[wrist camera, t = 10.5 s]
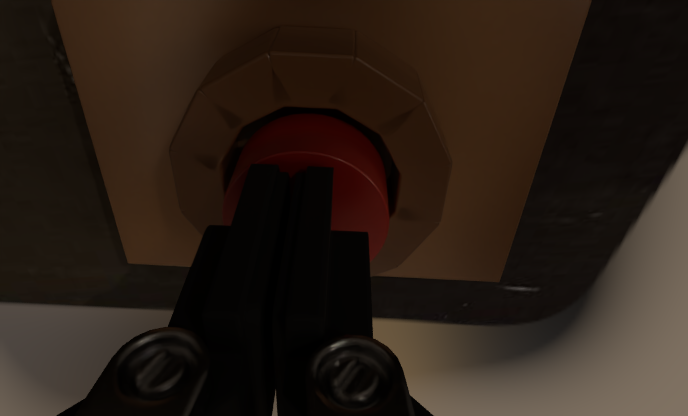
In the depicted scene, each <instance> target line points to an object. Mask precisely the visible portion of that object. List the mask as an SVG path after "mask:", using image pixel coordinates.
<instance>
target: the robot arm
mask: <svg viewBox="0 0 688 416" xmlns="http://www.w3.org/2000/svg"><path fill="white" fill-rule="evenodd" d="M333 173H334V167H315V166H307V171H306V173H296V178H295V184H294V189H293V195H292V201H291V207H290V189H289V173H288V172H280V170H279V165H272V164H251V165H250V167H249V170H248V174H247V177H246V180H245V183H244V186H243V189H242V192H241V195H240V198H239V201H238V204H237V208H236V211H235V214H234V217H233V220H232V223H231V226H225V225H209V226H208V227H207V228H206V230H205V232H204V234H203V237H202V239H201V242H200V245H199V247H198V250H197V252H196V255H195V258H194V260H193V263H192V265H191V268H190V270H189V273H188V276H187V278H186V281H185V283H184V286H183V289H182V291H181V294H180V296H179V299H178V301H177V304H176V307H175V309H174V312H173V314H172V317H171V320H170V322H169V325H168V327H163V328H158V329H153V330H149V331H147V332H145V333H142V334H140V335H138V336H136V337H134V338H133V339H131V340H130V341H129V342H127V343H126V344H125V345H123V346H122V347H121V348H120V349H119V350H118V351H117V353H116V354H115V355H114V356H113V357H112V358H111V360H110V362H109V363H108V365H107V366H106V368H105V369H104V371H103V372H102V374H101V375H100V377H99V378H98V380H97V381H96V383H95V384H94V386H93V388H92V389H91V391H90V392H89V393H88V395H87V397H86V398H85V399H83V400H82V401H80V402H78V403H77V404H75V405H73V406H72V407H70V408H68V409H67V410H65V411H63V412H62V413H60V414H58V415H57V416H272V411H273V403H274V397H275V390H276V398H277V413H278V416H433V415H432V414H431V413H430V412H429V411H428V410H426V409H425V408H424V407H423V406H422V405H420V404H419V403H418V402H417V401H416V400H415V399H414V398H413V397H411V396H410V394H409V390H408V387H407V383H406V379H405V376H404V372H403V369H402V367H401V364H400V362H399V360H398V358H397V357H396V355H395V354H394V353H393V352H392V351H391V350H390V349H389V348H388V347H387V346H385V345H384V344H382V343H381V342H379V341H378V340H376V339H373V327H372V303H371V279H370V255H369V234H368V232H360V231H338V230H331V225H332V199H333Z"/></svg>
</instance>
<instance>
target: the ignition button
mask: <svg viewBox="0 0 688 416" xmlns="http://www.w3.org/2000/svg"><path fill="white" fill-rule="evenodd" d="M251 164H272V165H279V170H280V172H288V173H289V189H290V207H291V201H292V195H293V189H294V184H295V178H296V173H306V171H307V166H315V167H334V173H333V199H332V225H331V230H338V231H360V232H368V234H369V255H370V262H371V261H372V260H373V259H374V258H375V257H376V256H377V254H378V253H379V252H380V250H381V248H382V247H383V245H384V243H385V240H386V238H387V235H388V230H389V207H388V195H387V184H386V173H385V167H384V164H383V160H382V158H381V156H380V154H379V152H378V150H377V149H376V147H375V145H374V144H373V143H372V142H371V141H370V139H369V138H368V137H367V136H366V135H365V134H363V133H362V132H361V131H360V130H358V129H357V128H355V127H354V126H353V125H351V124H349V123H347V122H345V121H343V120H340V119H338V118H335V117H332V116H328V115H323V114H315V113H300V114H293V115H288V116H284V117H281V118H278V119H276V120H273V121H271V122H269V123H268V124H266V125H264V126H263V127H261V128H260V129H259V130H258V131H256V132H255V133H254V134H253V135H252V136H251V137H250V139H249V140H248V141H247V143H246V144H245V146H244V148H243V150H242V152H241V154H240V157H239V159H238V162H237V164H236V167H235V170H234V172H233V175H232V177H231V180H230V183H229V185H228V188H227V190H226V193H225V196H224V200H223V205H222V220H223V225H225V226H231V223H232V220H233V217H234V214H235V211H236V208H237V204H238V201H239V198H240V195H241V192H242V189H243V186H244V183H245V180H246V177H247V174H248V170H249V167H250V165H251Z"/></svg>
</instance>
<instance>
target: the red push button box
mask: <svg viewBox="0 0 688 416" xmlns="http://www.w3.org/2000/svg"><path fill="white" fill-rule="evenodd" d="M591 1H592V0H51V3H52V7H53V10H54V14H55V17H56V20H57V24H58V27H59V31H60V34H61V37H62V41H63V44H64V48H65V51H66V54H67V58H68V61H69V65H70V68H71V71H72V75H73V78H74V82H75V85H76V88H77V92H78V95H79V99H80V102H81V105H82V109H83V112H84V116H85V119H86V122H87V126H88V129H89V133H90V136H91V139H92V143H93V146H94V150H95V153H96V156H97V160H98V163H99V167H100V170H101V173H102V177H103V180H104V184H105V187H106V190H107V194H108V197H109V201H110V204H111V207H112V211H113V214H114V218H115V221H116V224H117V228H118V231H119V235H120V238H121V241H122V245H123V248H124V252H125V255H126V258H127V262H128V263H129V264H146V265H166V266H186V267H191V265H192V263H193V260H194V258H195V255H196V252H197V250H198V247H199V245H200V242H201V239H202V237H203V234H204V232H205V230H206V228H207V227H208V226H209V225H223V220H222V205H223V200H224V196H225V193H226V190H227V188H228V185H229V183H230V180H231V177H232V175H233V172H234V170H235V167H236V164H237V162H238V159H239V157H240V154H241V152H242V150H243V148H244V146H245V144H246V143H247V141H248V140H249V139H250V137H251V136H252V135H253V134H254V133H255V132H256V131H258V130H259V129H260V128H261V127H263V126H264V125H266V124H268V123H269V122H271V121H273V120H276V119H278V118H281V117H284V116H288V115H293V114H300V113H315V114H323V115H328V116H332V117H335V118H338V119H340V120H343V121H345V122H347V123H349V124H351V125H353V126H354V127H355V128H357V129H358V130H360V131H361V132H362V133H363V134H365V135H366V136H367V137H368V138H369V139H370V141H371V142H372V143H373V144H374V145H375V147H376V149H377V150H378V152H379V154H380V156H381V158H382V160H383V164H384V167H385V173H386V184H387V195H388V207H389V230H388V235H387V238H386V240H385V243H384V245H383V247H382V248H381V250H380V252H379V253H378V254H377V256H376V257H375V258H374V259H373V260H372V261H371V262H370V277H372V276H388V277H408V278H429V279H449V280H469V281H489V282H499V281H500V279H501V276H502V272H503V269H504V266H505V263H506V260H507V257H508V254H509V251H510V248H511V245H512V242H513V239H514V236H515V233H516V230H517V227H518V224H519V221H520V218H521V215H522V212H523V208H524V205H525V202H526V199H527V196H528V193H529V190H530V187H531V184H532V181H533V178H534V175H535V172H536V169H537V166H538V163H539V160H540V157H541V154H542V151H543V147H544V144H545V141H546V138H547V135H548V132H549V129H550V126H551V123H552V120H553V117H554V114H555V111H556V108H557V105H558V102H559V99H560V96H561V93H562V90H563V86H564V83H565V80H566V77H567V74H568V71H569V68H570V65H571V62H572V59H573V56H574V53H575V50H576V47H577V44H578V41H579V38H580V35H581V32H582V29H583V25H584V22H585V19H586V16H587V13H588V10H589V7H590V4H591Z"/></svg>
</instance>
